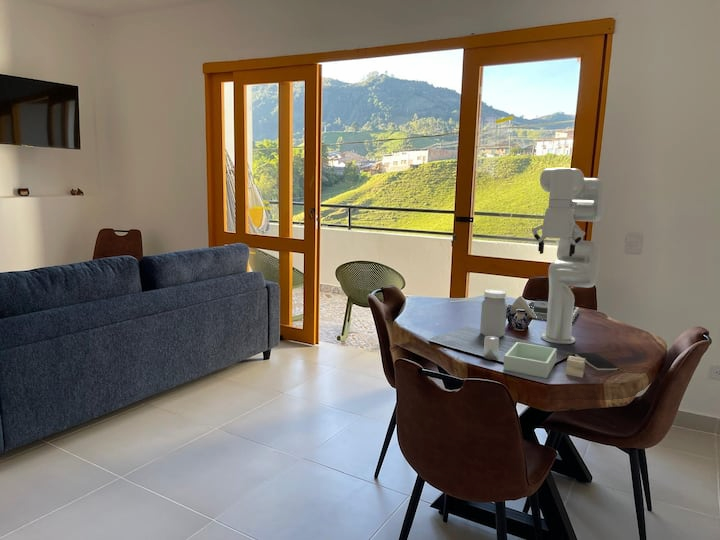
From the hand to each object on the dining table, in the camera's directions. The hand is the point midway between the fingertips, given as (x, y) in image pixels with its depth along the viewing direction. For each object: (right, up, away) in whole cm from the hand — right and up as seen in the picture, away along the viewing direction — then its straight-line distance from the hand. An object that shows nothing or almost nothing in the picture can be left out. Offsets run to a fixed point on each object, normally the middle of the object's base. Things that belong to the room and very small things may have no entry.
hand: (555, 254), depth 180 cm
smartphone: (+14, -38, +1) cm, 41 cm away
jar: (-14, -32, +31) cm, 47 cm away
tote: (-10, -38, -4) cm, 39 cm away
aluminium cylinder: (-22, -36, +4) cm, 42 cm away
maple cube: (+2, -39, -10) cm, 40 cm away
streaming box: (+22, -27, +66) cm, 75 cm away
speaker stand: (+22, -27, +66) cm, 74 cm away
